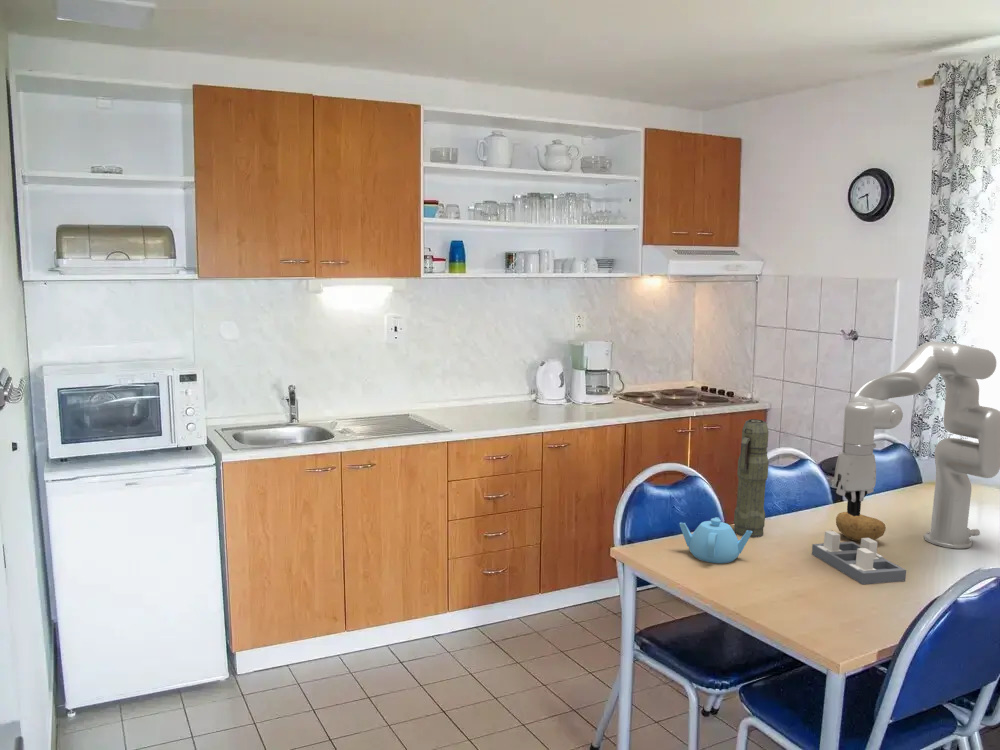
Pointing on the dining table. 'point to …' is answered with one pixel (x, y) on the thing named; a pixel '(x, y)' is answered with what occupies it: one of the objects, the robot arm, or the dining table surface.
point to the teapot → (714, 541)
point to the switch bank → (845, 562)
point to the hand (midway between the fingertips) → (853, 514)
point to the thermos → (752, 479)
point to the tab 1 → (831, 541)
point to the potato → (859, 526)
